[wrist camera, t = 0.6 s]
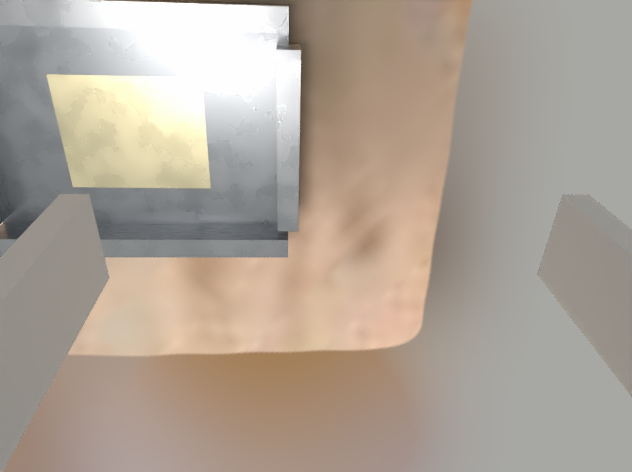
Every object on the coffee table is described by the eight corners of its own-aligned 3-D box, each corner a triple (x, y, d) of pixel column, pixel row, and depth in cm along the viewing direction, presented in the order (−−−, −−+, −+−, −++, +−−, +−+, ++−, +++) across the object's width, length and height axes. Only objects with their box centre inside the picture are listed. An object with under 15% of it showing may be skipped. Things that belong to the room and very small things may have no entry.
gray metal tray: (-69, -8, 30) (-116, -5, 26) (300, 4, 31) (301, 9, 28) (8, 230, 38) (-19, 257, 35) (296, 231, 40) (297, 257, 36)
